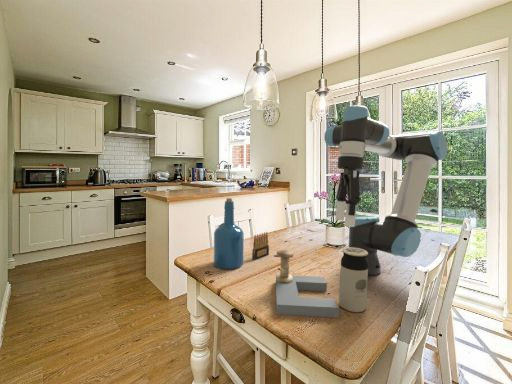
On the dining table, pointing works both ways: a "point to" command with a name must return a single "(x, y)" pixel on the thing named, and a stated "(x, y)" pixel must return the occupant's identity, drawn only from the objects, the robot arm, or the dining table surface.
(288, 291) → the notched board
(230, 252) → the wine bottle
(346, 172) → the robot arm
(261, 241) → the ammunition clip
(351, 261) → the travel mug
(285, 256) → the birch bobbin
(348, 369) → the dining table surface
